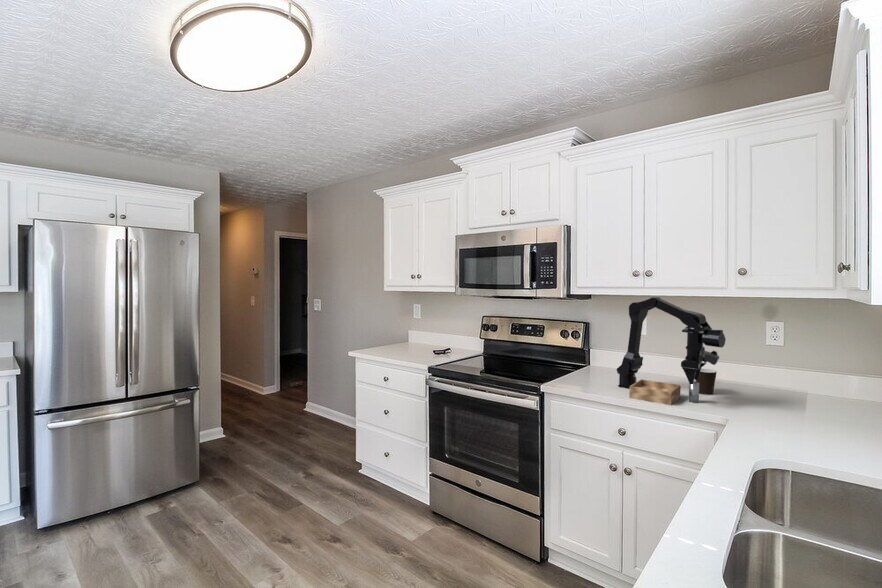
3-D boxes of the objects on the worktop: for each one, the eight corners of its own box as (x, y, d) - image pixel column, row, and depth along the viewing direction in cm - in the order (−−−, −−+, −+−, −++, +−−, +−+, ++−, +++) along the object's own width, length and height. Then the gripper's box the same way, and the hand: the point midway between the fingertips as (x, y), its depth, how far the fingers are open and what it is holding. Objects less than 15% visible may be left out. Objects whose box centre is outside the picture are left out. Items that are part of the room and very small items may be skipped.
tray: (629, 397, 189) (629, 386, 189) (640, 390, 202) (641, 379, 201) (670, 405, 179) (671, 392, 179) (680, 396, 191) (680, 385, 191)
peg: (687, 401, 183) (688, 382, 183) (689, 400, 186) (690, 381, 186) (697, 403, 181) (698, 384, 181) (699, 401, 184) (700, 382, 183)
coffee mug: (711, 396, 191) (712, 373, 191) (690, 392, 198) (690, 370, 197) (721, 392, 198) (722, 369, 198) (700, 388, 205) (701, 366, 205)
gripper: (713, 349, 170) (712, 389, 171) (721, 343, 184) (720, 380, 185) (681, 346, 177) (680, 385, 178) (691, 340, 192) (690, 376, 192)
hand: (693, 382), depth 183 cm, fingers open, 9 cm apart
